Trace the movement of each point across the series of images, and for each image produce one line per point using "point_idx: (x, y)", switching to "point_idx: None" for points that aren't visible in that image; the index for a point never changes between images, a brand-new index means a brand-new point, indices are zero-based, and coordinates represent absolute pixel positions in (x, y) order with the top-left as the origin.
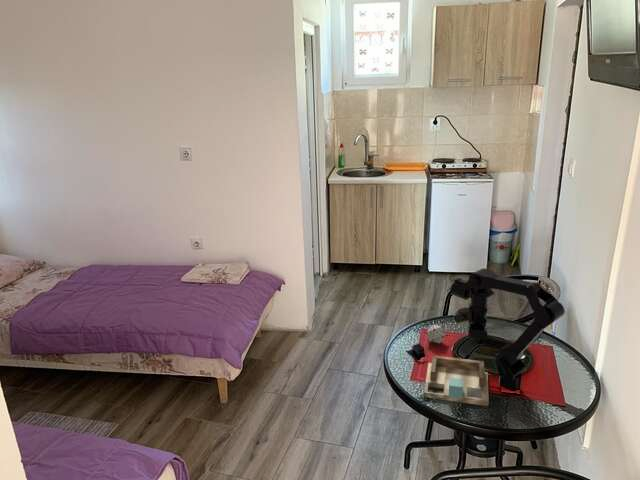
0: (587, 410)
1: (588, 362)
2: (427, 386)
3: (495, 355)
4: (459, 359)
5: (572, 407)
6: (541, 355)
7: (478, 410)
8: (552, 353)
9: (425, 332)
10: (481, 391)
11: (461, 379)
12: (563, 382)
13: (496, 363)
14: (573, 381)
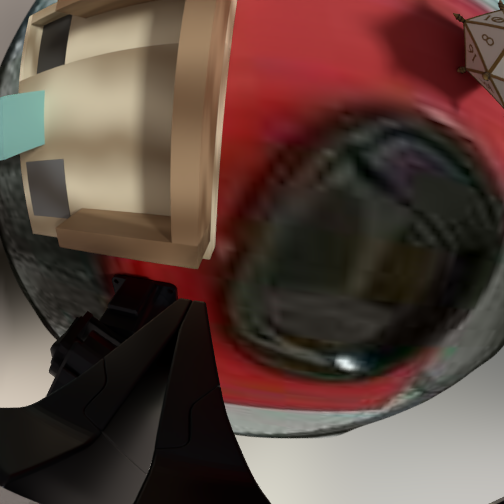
0: None
1: (306, 437)
2: (53, 11)
3: (62, 368)
4: (189, 114)
5: None
6: (345, 396)
7: (23, 194)
8: (350, 409)
9: (500, 4)
10: (58, 215)
11: (3, 150)
12: None
13: (65, 340)
14: (229, 416)
